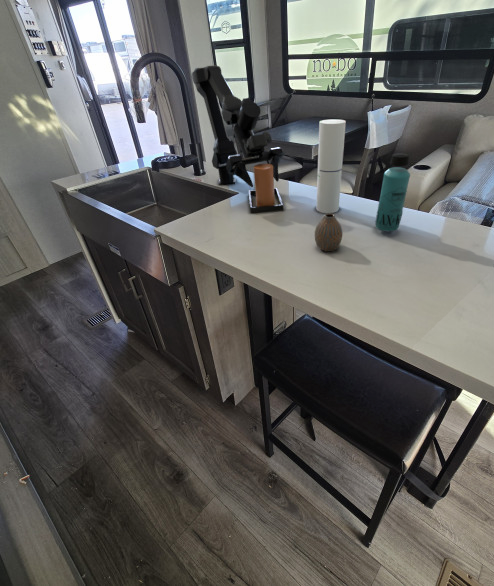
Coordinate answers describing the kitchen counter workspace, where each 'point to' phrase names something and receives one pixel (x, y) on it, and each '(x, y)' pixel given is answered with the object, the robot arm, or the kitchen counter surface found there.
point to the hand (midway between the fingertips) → (265, 183)
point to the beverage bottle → (393, 194)
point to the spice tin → (264, 184)
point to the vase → (328, 233)
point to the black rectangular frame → (265, 208)
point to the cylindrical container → (330, 164)
